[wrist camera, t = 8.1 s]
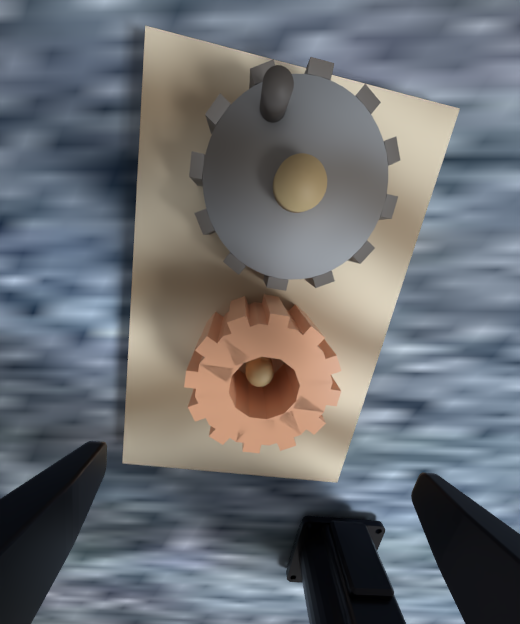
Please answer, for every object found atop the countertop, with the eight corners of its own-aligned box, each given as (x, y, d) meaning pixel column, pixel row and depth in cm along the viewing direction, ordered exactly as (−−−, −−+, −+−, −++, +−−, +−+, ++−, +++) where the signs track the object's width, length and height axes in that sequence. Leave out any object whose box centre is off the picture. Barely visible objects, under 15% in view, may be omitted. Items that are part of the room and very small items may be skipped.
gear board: (331, 467, 19) (359, 541, 15) (130, 448, 18) (90, 524, 13) (441, 119, 13) (545, 59, 9) (154, 46, 12) (98, -75, 7)
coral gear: (304, 411, 16) (320, 459, 13) (191, 398, 15) (176, 445, 12) (332, 305, 14) (360, 327, 11) (206, 284, 14) (194, 301, 10)
